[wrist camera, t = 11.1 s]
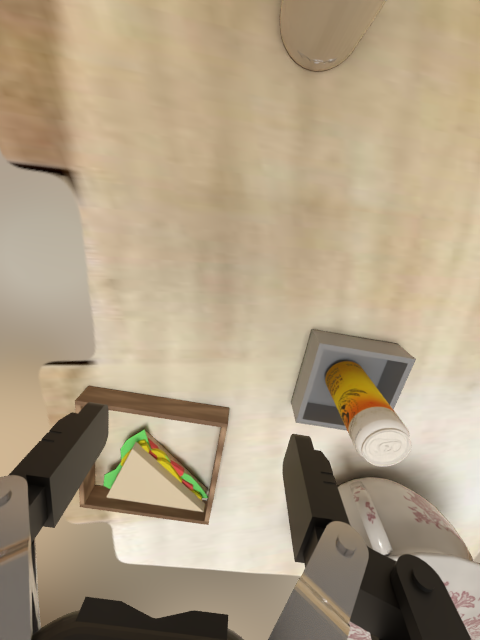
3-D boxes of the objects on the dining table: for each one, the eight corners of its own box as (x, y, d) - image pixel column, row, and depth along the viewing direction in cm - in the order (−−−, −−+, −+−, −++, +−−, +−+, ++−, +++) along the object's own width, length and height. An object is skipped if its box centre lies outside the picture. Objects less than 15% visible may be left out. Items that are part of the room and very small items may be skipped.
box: (311, 329, 43) (319, 343, 38) (397, 343, 43) (415, 359, 38) (291, 401, 47) (295, 422, 43) (368, 414, 48) (381, 435, 43)
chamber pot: (394, 559, 61) (462, 718, 42) (275, 533, 59) (290, 688, 40) (464, 468, 52) (595, 620, 32) (326, 433, 50) (377, 573, 30)
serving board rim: (88, 385, 47) (75, 400, 43) (229, 407, 48) (227, 424, 44) (91, 487, 56) (79, 506, 52) (210, 504, 56) (208, 524, 53)
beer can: (323, 359, 44) (360, 428, 30) (363, 357, 43) (418, 425, 29) (323, 392, 46) (357, 470, 32) (361, 389, 46) (412, 467, 32)
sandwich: (175, 514, 58) (169, 539, 54) (97, 464, 54) (82, 487, 49) (225, 475, 54) (222, 500, 50) (144, 418, 50) (134, 439, 45)
